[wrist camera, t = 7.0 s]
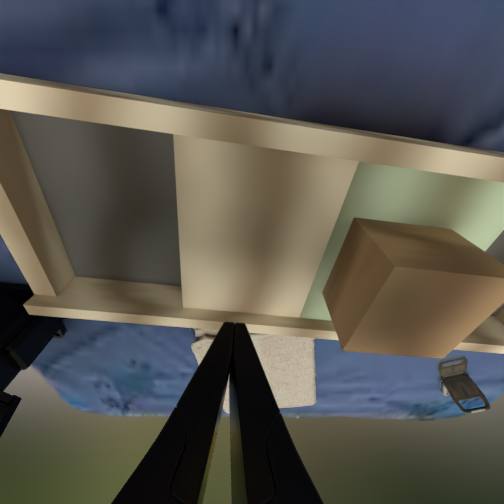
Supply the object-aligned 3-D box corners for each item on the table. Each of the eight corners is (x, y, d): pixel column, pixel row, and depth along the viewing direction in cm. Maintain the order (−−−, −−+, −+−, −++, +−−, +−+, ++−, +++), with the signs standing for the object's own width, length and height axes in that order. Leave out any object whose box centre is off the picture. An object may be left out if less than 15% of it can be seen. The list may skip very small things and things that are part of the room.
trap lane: (62, 281, 19) (29, 314, 16) (-34, 68, 11) (-133, 58, 8) (498, 322, 22) (535, 356, 19) (664, 177, 14) (769, 199, 11)
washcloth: (308, 295, 21) (316, 323, 18) (316, 388, 31) (321, 414, 28) (184, 312, 22) (176, 341, 20) (230, 396, 32) (228, 422, 30)
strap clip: (463, 384, 30) (492, 423, 26) (438, 390, 31) (462, 428, 27) (464, 352, 26) (497, 392, 22) (434, 359, 26) (462, 399, 23)
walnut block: (322, 292, 16) (342, 350, 13) (353, 217, 13) (395, 266, 9) (400, 300, 17) (443, 358, 13) (451, 229, 13) (527, 280, 10)
